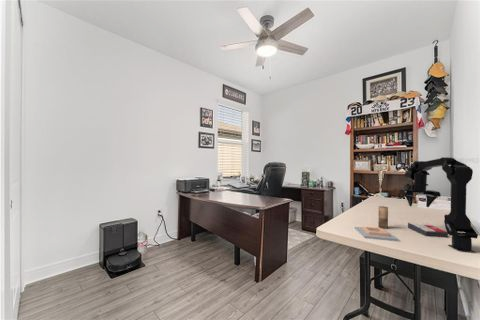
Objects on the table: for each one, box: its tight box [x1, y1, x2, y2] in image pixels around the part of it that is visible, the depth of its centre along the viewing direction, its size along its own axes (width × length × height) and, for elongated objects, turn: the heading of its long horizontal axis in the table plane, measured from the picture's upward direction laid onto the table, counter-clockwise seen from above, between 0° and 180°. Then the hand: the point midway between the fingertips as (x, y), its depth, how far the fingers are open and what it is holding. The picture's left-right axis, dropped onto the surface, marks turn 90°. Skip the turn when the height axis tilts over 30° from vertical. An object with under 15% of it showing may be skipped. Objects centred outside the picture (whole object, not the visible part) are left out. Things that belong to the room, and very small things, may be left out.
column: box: [377, 205, 389, 230], centre depth 124 cm, size 5×5×13 cm
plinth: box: [354, 225, 400, 242], centre depth 111 cm, size 16×16×2 cm
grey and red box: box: [407, 222, 449, 239], centre depth 117 cm, size 11×4×15 cm
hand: (418, 206), depth 121 cm, fingers open, 9 cm apart
